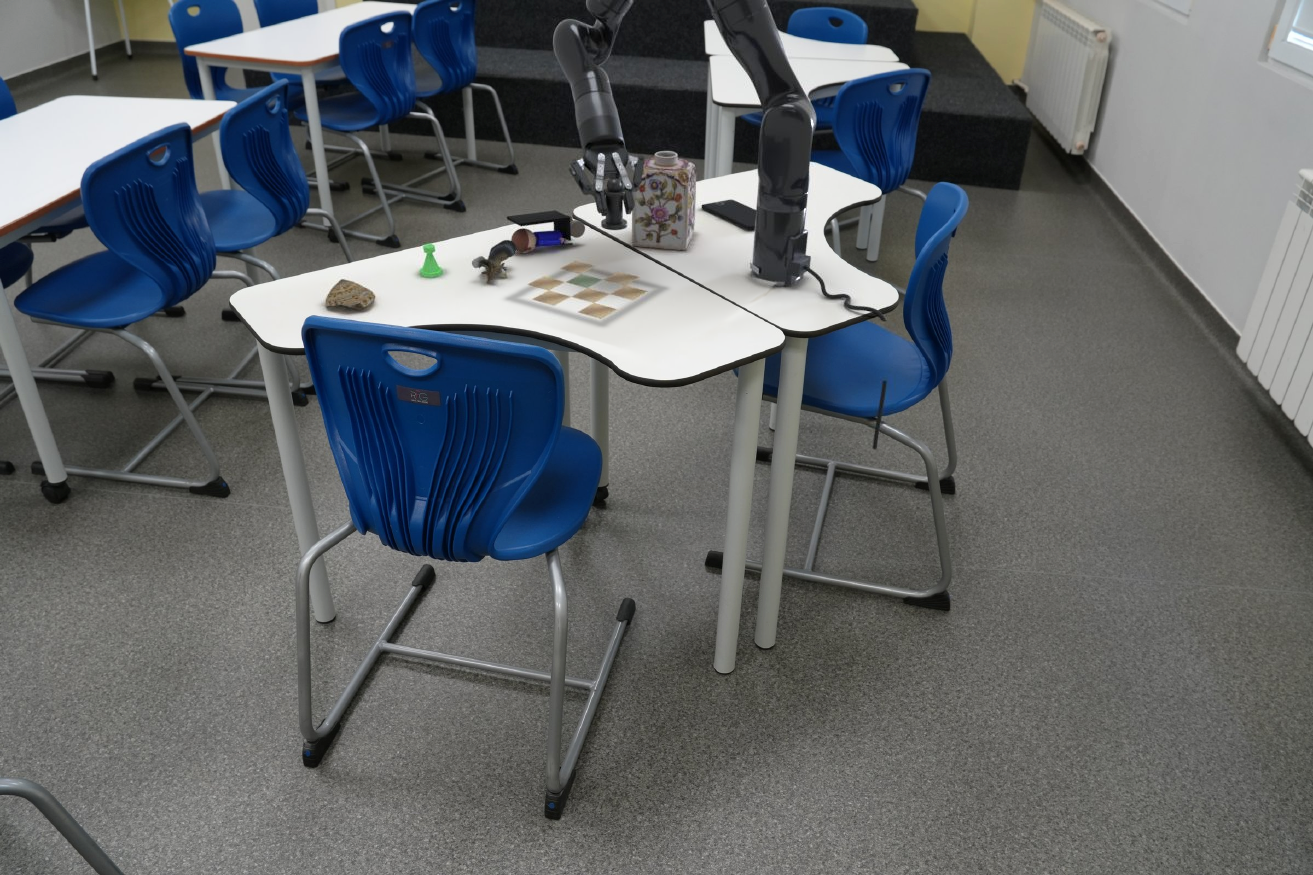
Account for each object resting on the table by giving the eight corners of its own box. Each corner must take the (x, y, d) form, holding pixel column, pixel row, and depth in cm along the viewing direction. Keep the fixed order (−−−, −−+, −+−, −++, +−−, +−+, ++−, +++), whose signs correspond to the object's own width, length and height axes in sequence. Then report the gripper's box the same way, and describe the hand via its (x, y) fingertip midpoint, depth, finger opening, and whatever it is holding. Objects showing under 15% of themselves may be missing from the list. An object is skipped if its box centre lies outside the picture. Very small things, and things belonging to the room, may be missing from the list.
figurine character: (567, 243, 206) (504, 248, 197) (569, 207, 202) (505, 211, 194) (584, 252, 201) (520, 258, 193) (587, 216, 198) (522, 220, 189)
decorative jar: (695, 233, 209) (699, 148, 200) (687, 251, 199) (690, 163, 190) (640, 228, 211) (641, 144, 201) (629, 246, 201) (630, 159, 192)
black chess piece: (632, 225, 173) (632, 177, 169) (617, 232, 170) (617, 183, 165) (610, 220, 175) (610, 173, 171) (596, 227, 172) (595, 179, 167)
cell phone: (731, 203, 228) (731, 199, 227) (780, 224, 215) (780, 220, 214) (700, 208, 223) (700, 204, 223) (748, 231, 211) (748, 227, 210)
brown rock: (352, 306, 166) (319, 280, 167) (347, 331, 169) (315, 305, 171) (387, 291, 172) (355, 265, 173) (382, 315, 175) (350, 290, 177)
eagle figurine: (517, 280, 181) (526, 255, 187) (493, 250, 177) (503, 226, 184) (486, 297, 184) (495, 272, 190) (461, 268, 180) (472, 244, 187)
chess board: (662, 288, 182) (662, 282, 181) (601, 324, 167) (601, 318, 166) (575, 266, 191) (575, 260, 190) (510, 298, 176) (509, 292, 175)
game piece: (415, 273, 185) (412, 243, 182) (434, 267, 188) (431, 237, 185) (428, 279, 183) (425, 248, 180) (447, 273, 186) (444, 243, 183)
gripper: (562, 115, 167) (581, 205, 164) (641, 111, 171) (661, 200, 168) (556, 139, 174) (574, 226, 171) (632, 135, 178) (651, 220, 175)
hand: (617, 212), depth 169 cm, fingers closed on black chess piece, 3 cm apart
